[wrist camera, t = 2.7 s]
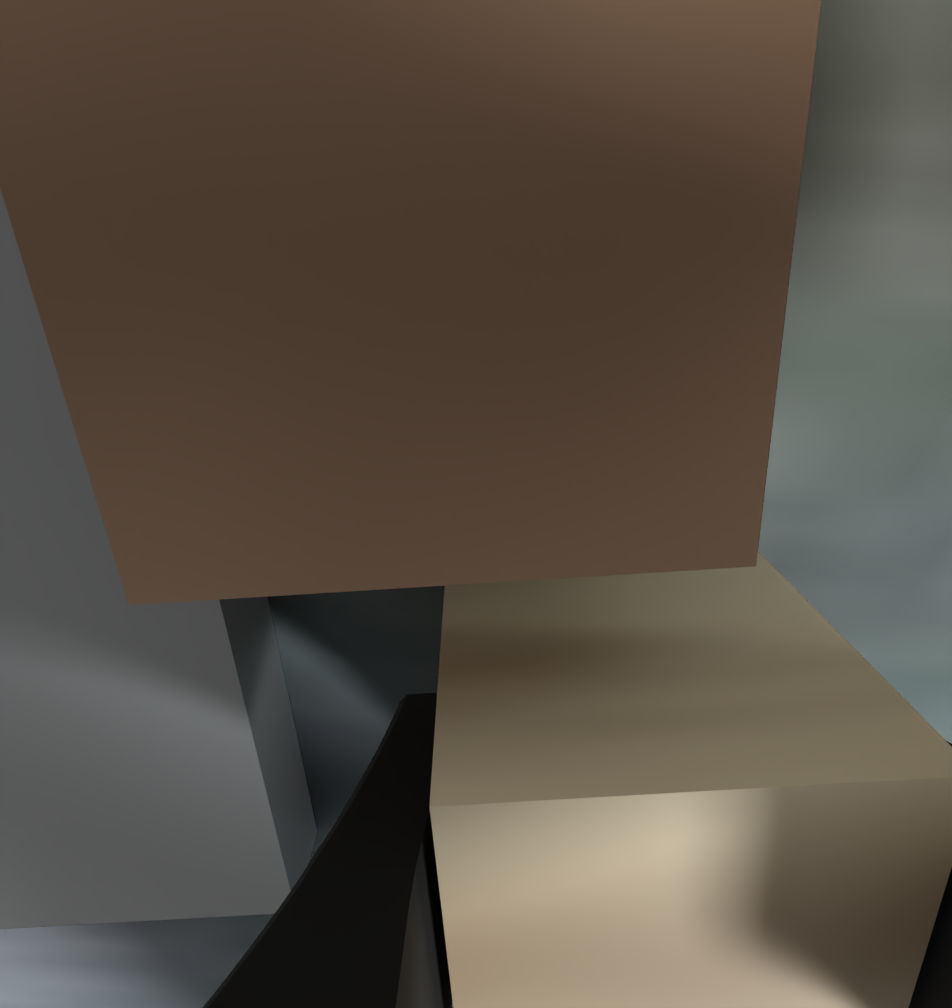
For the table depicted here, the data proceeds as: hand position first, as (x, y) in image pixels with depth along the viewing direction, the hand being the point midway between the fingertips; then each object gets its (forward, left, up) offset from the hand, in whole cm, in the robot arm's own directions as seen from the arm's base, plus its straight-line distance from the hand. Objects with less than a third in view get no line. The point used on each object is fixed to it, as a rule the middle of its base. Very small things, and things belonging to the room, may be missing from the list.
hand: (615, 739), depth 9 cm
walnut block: (+6, +2, -2) cm, 7 cm away
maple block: (0, 0, -2) cm, 2 cm away
